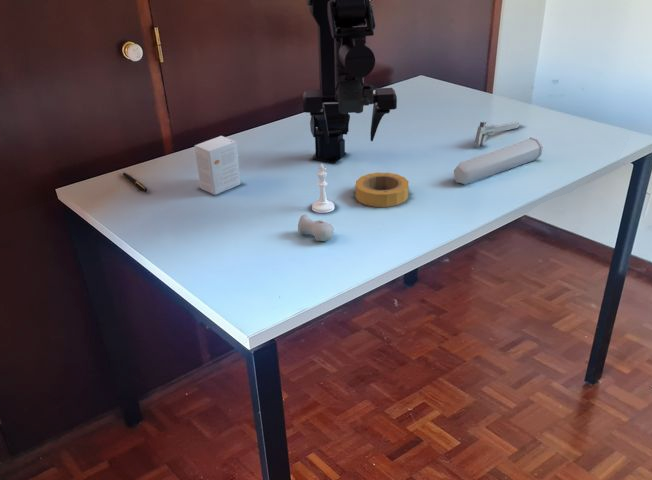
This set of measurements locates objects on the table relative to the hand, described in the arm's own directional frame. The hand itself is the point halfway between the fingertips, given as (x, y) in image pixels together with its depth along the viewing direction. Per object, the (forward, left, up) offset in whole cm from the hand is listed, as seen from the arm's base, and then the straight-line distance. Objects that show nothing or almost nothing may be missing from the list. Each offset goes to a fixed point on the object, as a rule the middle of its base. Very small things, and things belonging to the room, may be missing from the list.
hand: (349, 141), depth 148 cm
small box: (-31, -6, -14) cm, 34 cm away
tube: (+24, +28, -14) cm, 40 cm away
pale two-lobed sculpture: (+1, -18, -14) cm, 22 cm away
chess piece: (-4, -6, -14) cm, 15 cm away
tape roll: (+5, +5, -14) cm, 15 cm away
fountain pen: (-51, -13, -14) cm, 54 cm away
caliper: (+18, +50, -14) cm, 55 cm away
